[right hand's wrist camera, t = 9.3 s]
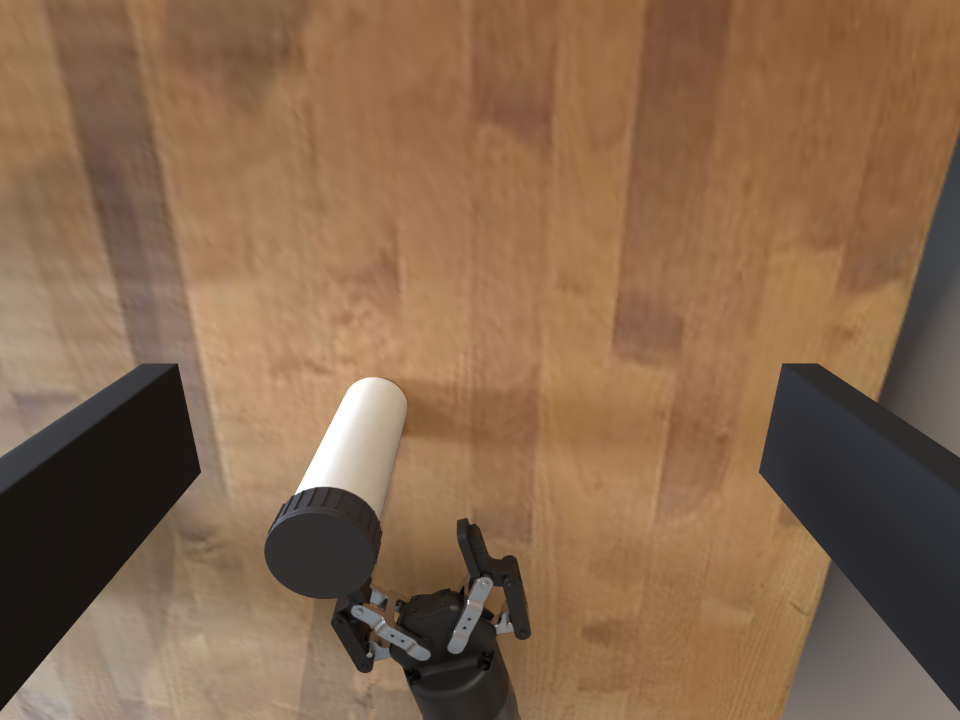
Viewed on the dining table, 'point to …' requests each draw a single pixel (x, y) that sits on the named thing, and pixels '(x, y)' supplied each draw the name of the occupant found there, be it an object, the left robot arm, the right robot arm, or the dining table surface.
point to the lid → (323, 543)
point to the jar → (361, 443)
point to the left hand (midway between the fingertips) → (404, 539)
